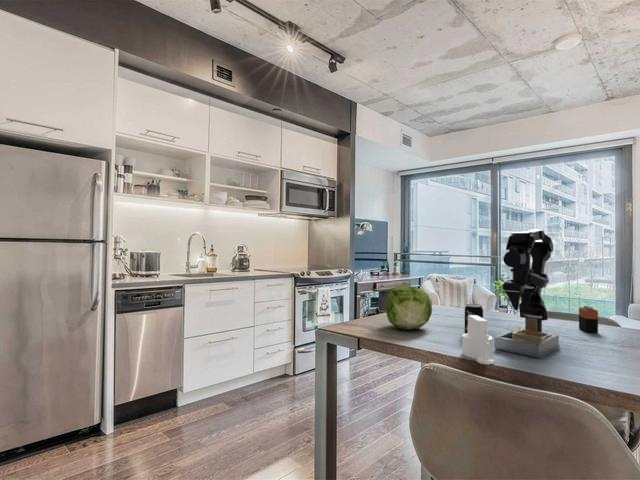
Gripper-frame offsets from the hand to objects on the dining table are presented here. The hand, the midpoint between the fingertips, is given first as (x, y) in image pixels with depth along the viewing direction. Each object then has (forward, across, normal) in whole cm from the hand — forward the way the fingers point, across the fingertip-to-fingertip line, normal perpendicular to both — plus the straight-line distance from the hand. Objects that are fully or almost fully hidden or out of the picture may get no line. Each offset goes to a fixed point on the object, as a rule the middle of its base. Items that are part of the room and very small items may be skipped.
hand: (521, 308), depth 138 cm
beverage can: (+12, -6, +15) cm, 20 cm away
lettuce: (+12, -15, +38) cm, 43 cm away
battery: (+12, +37, -12) cm, 41 cm away
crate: (+11, -4, -5) cm, 13 cm away
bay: (+12, -8, -5) cm, 15 cm away
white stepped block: (+12, -28, +3) cm, 31 cm away
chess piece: (+12, -33, -2) cm, 35 cm away
